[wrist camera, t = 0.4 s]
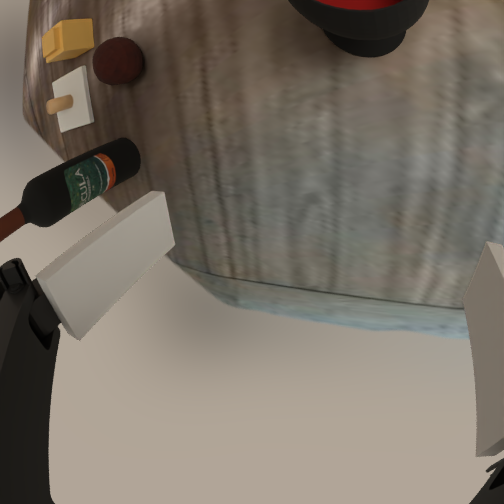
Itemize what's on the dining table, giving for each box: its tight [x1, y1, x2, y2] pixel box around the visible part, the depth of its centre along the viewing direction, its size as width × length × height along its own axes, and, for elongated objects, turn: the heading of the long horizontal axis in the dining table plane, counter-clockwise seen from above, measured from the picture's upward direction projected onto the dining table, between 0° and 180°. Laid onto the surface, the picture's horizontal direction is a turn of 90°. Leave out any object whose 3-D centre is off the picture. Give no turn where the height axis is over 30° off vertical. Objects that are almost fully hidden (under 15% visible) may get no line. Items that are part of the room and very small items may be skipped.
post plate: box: [46, 65, 94, 132], centre depth 42 cm, size 12×12×6 cm
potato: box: [93, 37, 143, 85], centre depth 33 cm, size 8×9×8 cm
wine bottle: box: [0, 138, 140, 242], centre depth 36 cm, size 8×8×30 cm
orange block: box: [42, 19, 94, 63], centre depth 33 cm, size 6×6×8 cm
